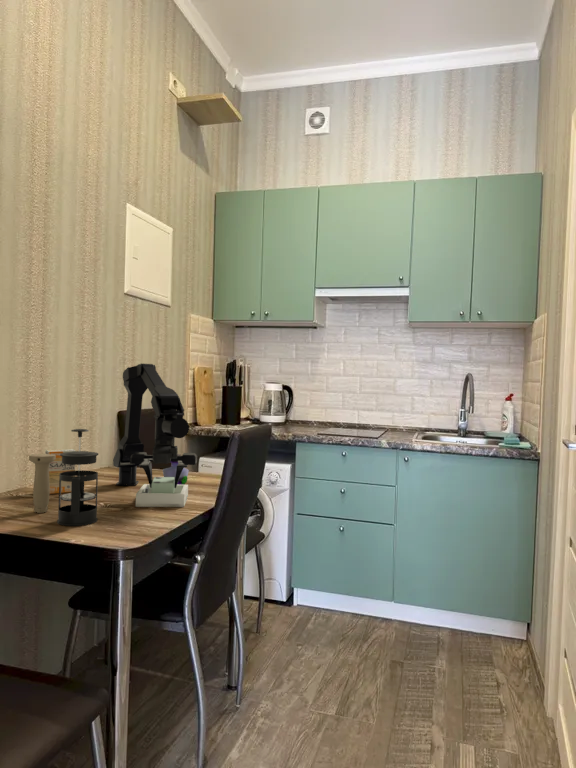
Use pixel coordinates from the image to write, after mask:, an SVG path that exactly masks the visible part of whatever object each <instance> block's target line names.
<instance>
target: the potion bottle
mask: <svg viewBox="0 0 576 768" xmlns="http://www.w3.org/2000/svg"><path fill="white" fill-rule="evenodd" d="M177 456H182V454H181V453H178V455H177ZM170 463H171V465H170V466H169V467H166V468H163V469H162V473H163V477H176V470H177V465H178V462H170ZM170 463H169V464H170ZM189 471H190V470H189V469H188V468H187V467H186V468H183V470H182V472H181V475H180V478H179V480H178V483H177V485H186V484H187V482H188V475H189ZM174 484H175V480H174Z"/></svg>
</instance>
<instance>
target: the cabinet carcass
mask: <svg viewBox="0 0 576 768" xmlns="http://www.w3.org/2000/svg"><path fill="white" fill-rule="evenodd" d="M187 497H189V484H185V485H177V486H176V488H174V493H151V488H150V485H149V483H148V484H147V483H144V484H143V485H142V486H141V487H140V489H138V490H137V492H136V493H135V507H138V508H140V507H141V508H160V507H161V508H162V507H163V508H174V507H175V508H184V507H185V505H186V503H187V500H188V498H187Z"/></svg>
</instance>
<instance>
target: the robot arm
mask: <svg viewBox="0 0 576 768" xmlns="http://www.w3.org/2000/svg"><path fill="white" fill-rule="evenodd" d="M122 381H123V386H124V389H125V390H126V392H127V401H126V412H125V413H126V414H125V427H124V436H123V437H122V438H121V440H120V441H119V443H118V447H117V450H116V452H115V455H114V457H113V458H112V459H113V460H112V464H113V467H116V468H118V481H117V482H116V483H115V486H137V485H138V484H139V481H140V480H137V467H139V468H142V469H143V471H144V473H145V475H146V478H147V481H148V484H149V485H150V488H152V482H153V479H154V478H153V464H164V465H165V464H170V462H178V465H177V470H176V477H175V484H174V488H176V486H177V483H178V480H179V478H180V475H181V472H182V470H183V468H186V469H187V468H188V466H196V465H197V461H198V460H197V459H198V454H196V452H183V454H181V456H177V455H178V454H179V452H178V451H179V450H178V445H175V443H176V442H175V441H176V438H177V439H182V438H185V437H186V436H187V435H188V433H189V431H190V425H189V423H188V421H187V420H186V419H185V418H184V416H185V413H184V412H185V409H184V406H183V404H182V402H181V398H180V396H179V394H178V393H177V392H176V391H175V390H174V389H173V388H170V387H168V386H167V385H166V384H165V383H164V380H163V379H162V378H161V376H160V374H159V372H158V371H157V369H156V365H155V364H153V363H138V364H137V365H134V366H130V367H129V366H128V367H127V368H126V369H124V370H123V372H122ZM147 390H148V391H149V392H150V395H151V400H150V403H151V404H150V405H151V407H152V409H153V411H154V415H153V419H154V420H155V421H154V422H155V423H154V424H155V425H154V426H155V427H154V445H153V448H152V454H147V452H145V451H144V450H145V445H144V443H143V442H142V441H141V438H140V433H141V432H140V431H141V429H140V427H141V419H142V409H143V395H144V394H145V393H146V391H147ZM152 463H153V464H152Z"/></svg>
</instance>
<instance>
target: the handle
mask: <svg viewBox="0 0 576 768" xmlns="http://www.w3.org/2000/svg"><path fill="white" fill-rule="evenodd" d="M55 458H56V455H53V454H45V453H38V454H37V453H35V454H30V455H29V454H28V461H29V462H31V463H33V464H34V476H33V477H34V478H33V488H32V489H33V491H32V497H33V500H32V501H33V512H34V513H36V512H37V514H42V513H44V512H45V513H47V512H48V510H49V506H48V505H49V502H50V495H51V494H50V490H49V489H50V485H49V464H50V463H51V462H53V461H54V460H55ZM46 511H47V512H46Z"/></svg>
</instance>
